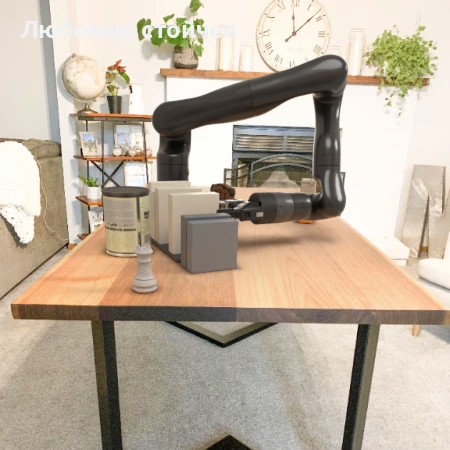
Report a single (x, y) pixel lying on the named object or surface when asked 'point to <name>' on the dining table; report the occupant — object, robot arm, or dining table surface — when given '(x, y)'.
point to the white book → (187, 212)
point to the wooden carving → (223, 191)
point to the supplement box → (308, 191)
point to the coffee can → (126, 219)
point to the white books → (164, 211)
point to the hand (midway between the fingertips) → (209, 211)
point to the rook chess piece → (144, 270)
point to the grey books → (209, 242)
